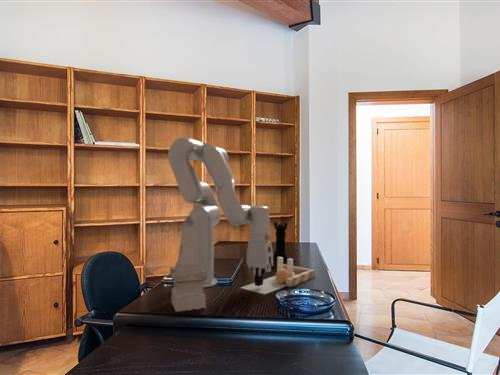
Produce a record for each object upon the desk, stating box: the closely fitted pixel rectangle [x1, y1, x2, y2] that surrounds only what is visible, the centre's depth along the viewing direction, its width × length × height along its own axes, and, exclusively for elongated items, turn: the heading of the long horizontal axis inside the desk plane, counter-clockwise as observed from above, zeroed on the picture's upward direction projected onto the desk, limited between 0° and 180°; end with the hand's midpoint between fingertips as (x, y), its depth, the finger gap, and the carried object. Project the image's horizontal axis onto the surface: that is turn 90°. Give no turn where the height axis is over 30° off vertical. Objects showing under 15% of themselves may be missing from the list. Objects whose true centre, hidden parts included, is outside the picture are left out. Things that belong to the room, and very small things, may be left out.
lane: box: [240, 273, 298, 295], centre depth 147 cm, size 34×12×1 cm, turn 141°
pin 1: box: [276, 257, 284, 272], centre depth 152 cm, size 2×2×9 cm
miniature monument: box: [169, 215, 207, 312], centre depth 117 cm, size 10×10×30 cm
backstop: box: [283, 263, 317, 288], centre depth 153 cm, size 21×18×3 cm
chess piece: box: [273, 221, 289, 262], centre depth 190 cm, size 8×8×20 cm
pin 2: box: [286, 258, 294, 277], centre depth 149 cm, size 2×2×9 cm
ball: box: [274, 269, 290, 284], centre depth 144 cm, size 6×6×6 cm
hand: (258, 285), depth 137 cm, fingers closed
